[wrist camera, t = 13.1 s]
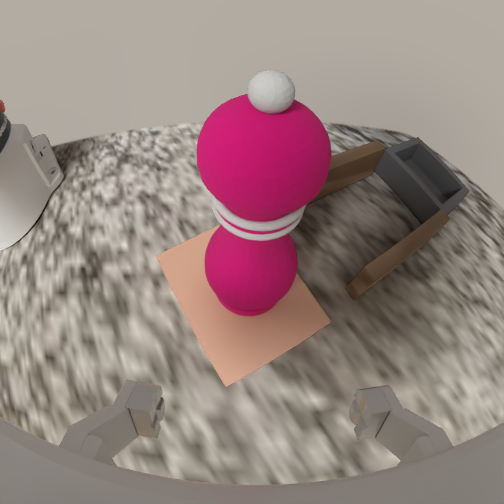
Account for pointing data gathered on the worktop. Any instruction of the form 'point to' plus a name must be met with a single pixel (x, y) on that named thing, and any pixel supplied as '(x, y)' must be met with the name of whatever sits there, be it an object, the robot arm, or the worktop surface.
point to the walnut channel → (361, 166)
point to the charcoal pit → (420, 179)
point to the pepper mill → (259, 189)
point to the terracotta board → (236, 326)
